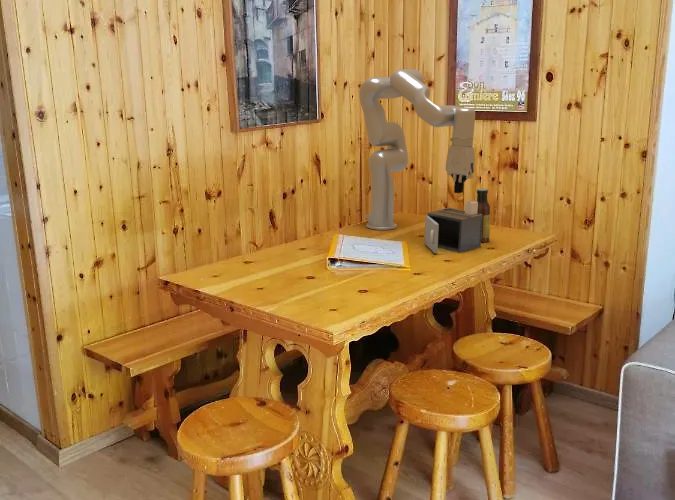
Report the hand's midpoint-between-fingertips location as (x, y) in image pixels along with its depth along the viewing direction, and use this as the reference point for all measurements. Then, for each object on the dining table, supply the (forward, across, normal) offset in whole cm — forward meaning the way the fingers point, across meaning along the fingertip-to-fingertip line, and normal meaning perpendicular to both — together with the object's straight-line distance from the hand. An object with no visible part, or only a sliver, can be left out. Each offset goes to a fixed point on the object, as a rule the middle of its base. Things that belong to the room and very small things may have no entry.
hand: (458, 192), depth 262 cm
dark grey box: (+19, +2, -3) cm, 20 cm away
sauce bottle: (+20, +4, +11) cm, 23 cm away
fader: (+7, +6, 0) cm, 10 cm away
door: (+19, 0, -14) cm, 24 cm away
